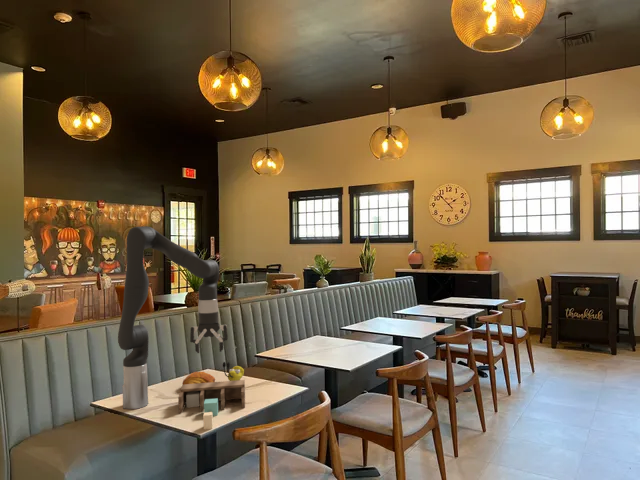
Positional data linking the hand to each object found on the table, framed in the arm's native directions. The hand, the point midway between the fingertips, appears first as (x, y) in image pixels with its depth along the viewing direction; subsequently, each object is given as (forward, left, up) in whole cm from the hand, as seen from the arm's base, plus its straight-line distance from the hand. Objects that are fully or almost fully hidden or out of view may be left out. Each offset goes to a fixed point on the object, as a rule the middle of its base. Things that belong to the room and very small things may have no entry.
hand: (209, 352), depth 184 cm
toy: (+8, +27, -24) cm, 37 cm away
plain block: (-8, +12, -24) cm, 28 cm away
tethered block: (0, -7, -24) cm, 25 cm away
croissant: (-8, +36, -24) cm, 44 cm away
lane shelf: (0, +9, -24) cm, 26 cm away
